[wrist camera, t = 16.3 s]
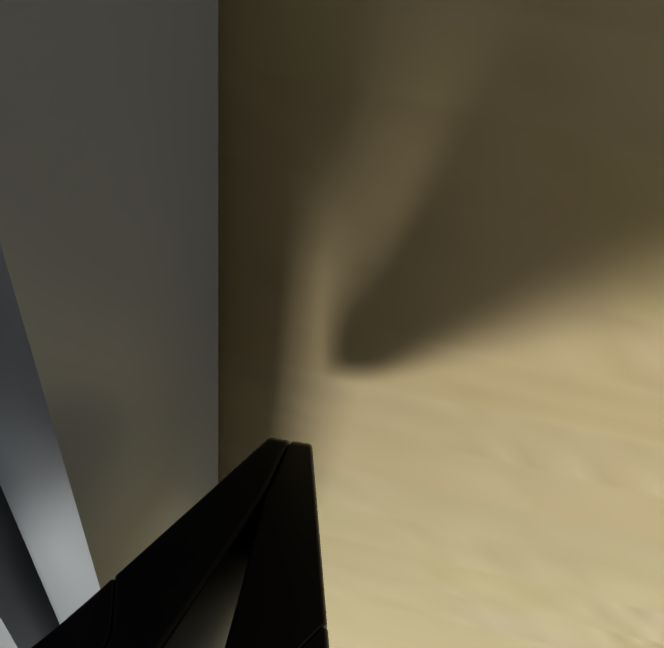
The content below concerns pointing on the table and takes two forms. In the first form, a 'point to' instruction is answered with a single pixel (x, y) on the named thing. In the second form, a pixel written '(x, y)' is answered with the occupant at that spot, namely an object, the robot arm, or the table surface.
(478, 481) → the table surface
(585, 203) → the table surface
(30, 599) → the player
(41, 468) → the tray
